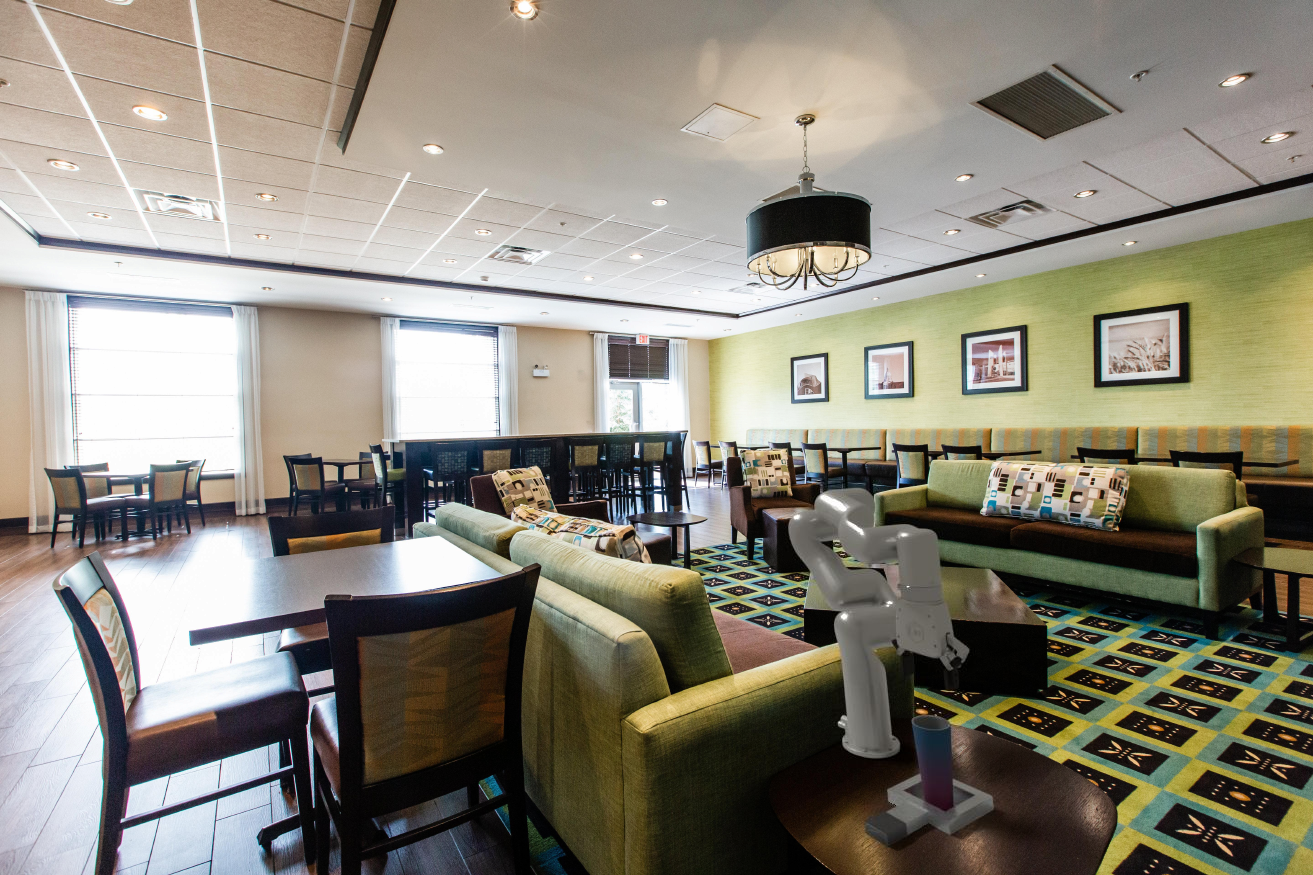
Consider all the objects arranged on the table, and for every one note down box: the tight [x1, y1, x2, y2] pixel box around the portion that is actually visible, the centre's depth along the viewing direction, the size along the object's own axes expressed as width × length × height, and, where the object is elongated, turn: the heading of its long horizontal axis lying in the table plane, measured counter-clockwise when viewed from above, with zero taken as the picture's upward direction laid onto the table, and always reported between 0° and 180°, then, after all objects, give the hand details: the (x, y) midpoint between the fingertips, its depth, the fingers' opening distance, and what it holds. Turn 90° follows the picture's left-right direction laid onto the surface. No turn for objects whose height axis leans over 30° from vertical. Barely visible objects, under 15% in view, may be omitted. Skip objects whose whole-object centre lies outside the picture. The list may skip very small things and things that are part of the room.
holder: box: [864, 773, 995, 847], centre depth 110 cm, size 24×13×2 cm, turn 120°
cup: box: [911, 714, 954, 810], centre depth 113 cm, size 7×7×15 cm
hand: (929, 681), depth 115 cm, fingers open, 9 cm apart
